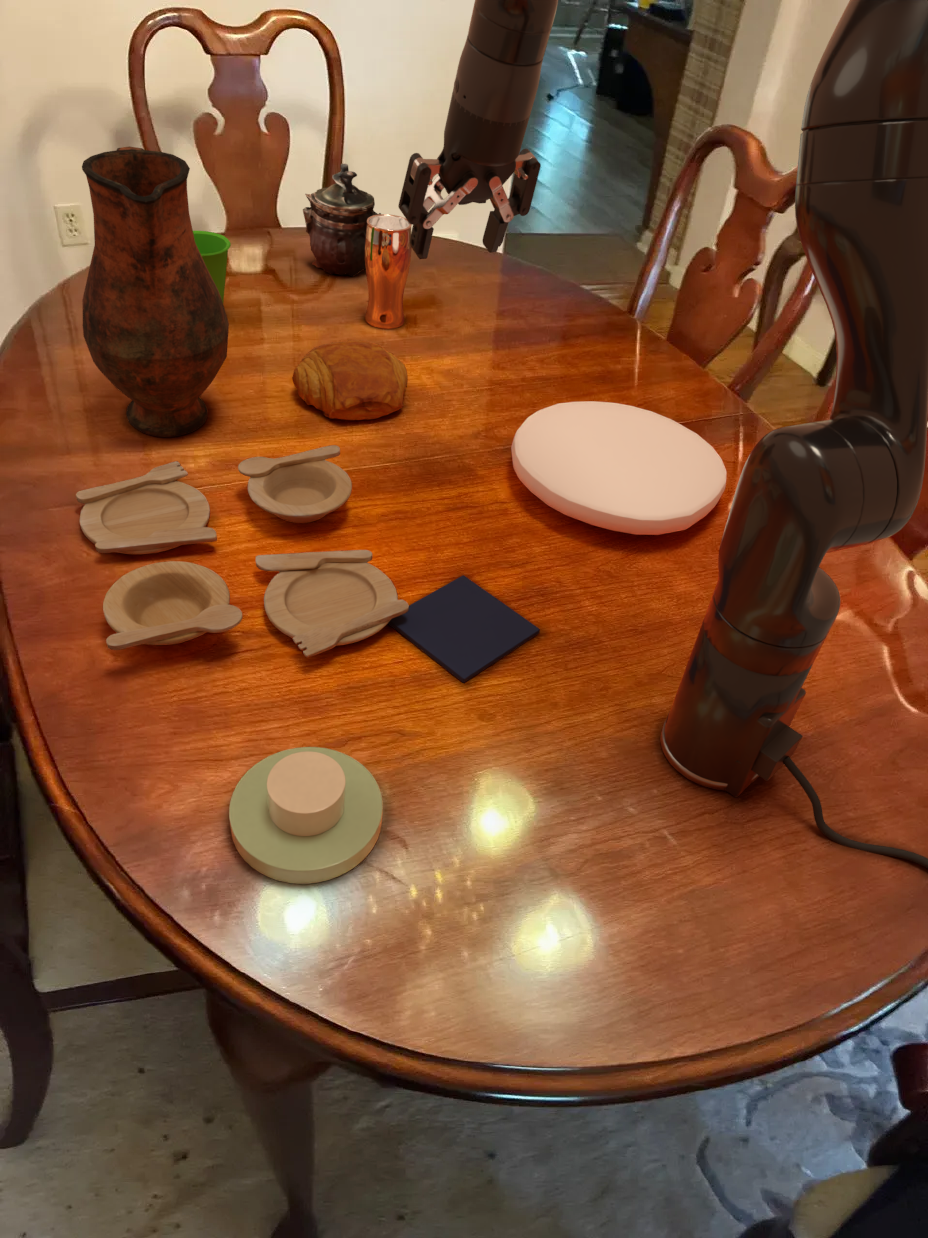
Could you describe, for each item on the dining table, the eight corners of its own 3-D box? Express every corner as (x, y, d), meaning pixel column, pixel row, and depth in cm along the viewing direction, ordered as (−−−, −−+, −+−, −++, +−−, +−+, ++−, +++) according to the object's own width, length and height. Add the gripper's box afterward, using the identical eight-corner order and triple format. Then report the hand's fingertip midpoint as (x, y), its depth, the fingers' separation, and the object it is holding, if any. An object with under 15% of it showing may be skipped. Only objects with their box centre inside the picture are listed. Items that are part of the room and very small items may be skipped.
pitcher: (103, 457, 109) (53, 190, 89) (93, 372, 124) (49, 126, 104) (245, 444, 114) (228, 189, 94) (220, 364, 129) (200, 128, 109)
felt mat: (539, 633, 94) (540, 629, 93) (463, 683, 87) (464, 679, 87) (462, 579, 99) (463, 574, 98) (385, 622, 93) (386, 618, 92)
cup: (162, 320, 137) (152, 245, 129) (192, 298, 143) (185, 225, 136) (217, 333, 135) (211, 258, 128) (245, 310, 142) (241, 238, 135)
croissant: (292, 388, 130) (282, 335, 124) (400, 370, 132) (395, 317, 127) (306, 440, 119) (296, 384, 114) (423, 419, 122) (419, 363, 116)
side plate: (412, 824, 75) (413, 811, 74) (293, 914, 68) (292, 900, 67) (319, 738, 81) (318, 724, 79) (200, 812, 74) (198, 798, 72)
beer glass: (356, 312, 145) (358, 214, 135) (397, 309, 148) (402, 212, 138) (371, 332, 141) (375, 231, 131) (413, 327, 143) (420, 229, 133)
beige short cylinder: (360, 808, 73) (361, 784, 71) (300, 850, 70) (299, 827, 68) (313, 762, 76) (312, 739, 74) (252, 801, 73) (250, 778, 71)
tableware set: (76, 488, 104) (68, 457, 101) (329, 456, 113) (329, 427, 111) (105, 709, 80) (97, 676, 77) (423, 645, 90) (426, 614, 87)
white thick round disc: (531, 377, 125) (728, 416, 122) (523, 422, 128) (714, 460, 126) (499, 465, 102) (740, 514, 100) (490, 516, 106) (722, 564, 104)
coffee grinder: (317, 291, 150) (317, 173, 138) (298, 255, 160) (297, 143, 148) (392, 288, 154) (398, 173, 142) (370, 254, 164) (373, 144, 152)
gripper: (443, 121, 81) (410, 279, 94) (575, 117, 87) (527, 267, 100) (407, 75, 84) (380, 235, 97) (537, 75, 90) (495, 225, 103)
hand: (454, 251), depth 99 cm, fingers open, 8 cm apart
